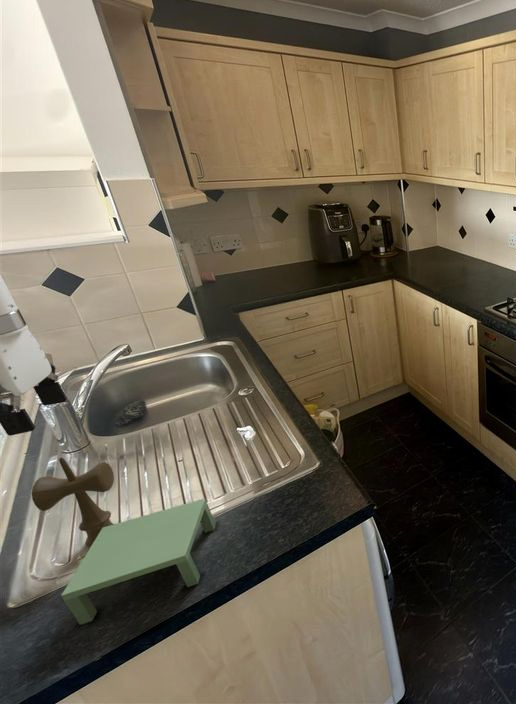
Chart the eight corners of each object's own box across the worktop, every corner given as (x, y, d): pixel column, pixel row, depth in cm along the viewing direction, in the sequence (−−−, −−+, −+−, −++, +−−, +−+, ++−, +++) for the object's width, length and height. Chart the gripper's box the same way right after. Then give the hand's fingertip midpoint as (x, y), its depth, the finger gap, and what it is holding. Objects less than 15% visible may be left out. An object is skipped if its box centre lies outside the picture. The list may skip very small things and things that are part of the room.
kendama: (79, 537, 82) (32, 457, 74) (139, 517, 86) (101, 440, 78) (65, 560, 77) (14, 477, 69) (131, 538, 81) (88, 458, 73)
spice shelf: (79, 625, 65) (60, 595, 63) (117, 554, 77) (102, 527, 75) (198, 583, 71) (184, 555, 69) (215, 524, 83) (205, 498, 81)
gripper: (-6, 314, 70) (41, 398, 77) (-93, 352, 56) (-27, 453, 62) (51, 306, 73) (91, 388, 79) (-18, 341, 58) (39, 438, 65)
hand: (40, 416), depth 71 cm, fingers open, 9 cm apart
